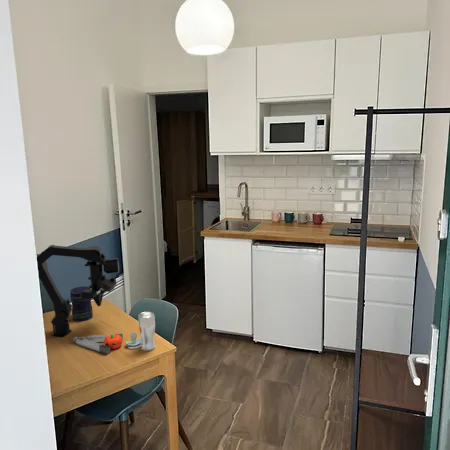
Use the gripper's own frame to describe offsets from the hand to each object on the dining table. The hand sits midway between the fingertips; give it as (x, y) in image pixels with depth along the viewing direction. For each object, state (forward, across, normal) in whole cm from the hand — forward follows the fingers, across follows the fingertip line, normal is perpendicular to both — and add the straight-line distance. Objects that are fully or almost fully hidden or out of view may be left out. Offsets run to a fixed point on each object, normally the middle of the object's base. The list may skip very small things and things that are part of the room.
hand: (99, 306), depth 193 cm
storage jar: (+12, +10, +17) cm, 23 cm away
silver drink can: (+12, -10, -30) cm, 34 cm away
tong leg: (+12, -10, -7) cm, 17 cm away
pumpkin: (+12, -13, -14) cm, 23 cm away
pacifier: (+12, -10, -23) cm, 28 cm away
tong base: (+12, -17, -6) cm, 21 cm away
